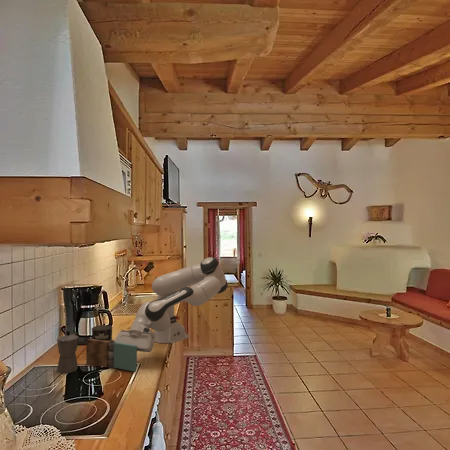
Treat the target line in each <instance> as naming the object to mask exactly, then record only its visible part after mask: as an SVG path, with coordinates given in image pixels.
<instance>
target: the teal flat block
mask: <svg viewBox="0 0 450 450" xmlns="http://www.w3.org/2000/svg"><path fill="white" fill-rule="evenodd" d="M108 359H110V360H112V359H114V368H115V369H119V370H124V371H130V372H134V371H135V372H137V368H138V366H137V365H138V363H137V362H138V360H137V359H138V351H137V345H131V344H124V343H118V342H115V343H114V351H108ZM114 368H113V369H114Z"/></svg>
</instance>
